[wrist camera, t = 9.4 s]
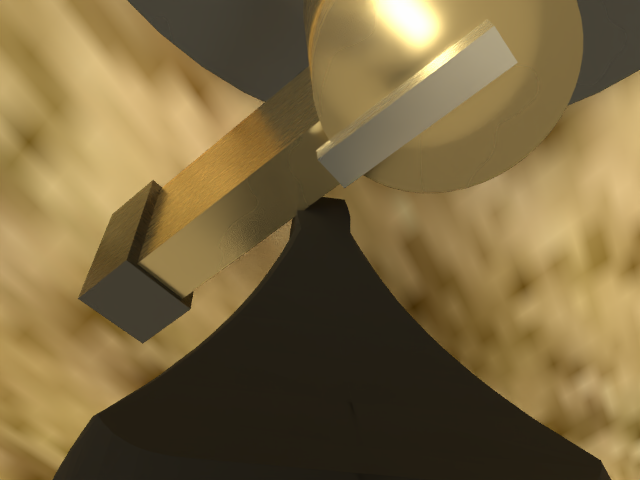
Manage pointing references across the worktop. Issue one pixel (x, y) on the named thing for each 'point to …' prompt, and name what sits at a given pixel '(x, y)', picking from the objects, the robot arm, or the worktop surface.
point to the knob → (346, 137)
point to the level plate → (291, 49)
